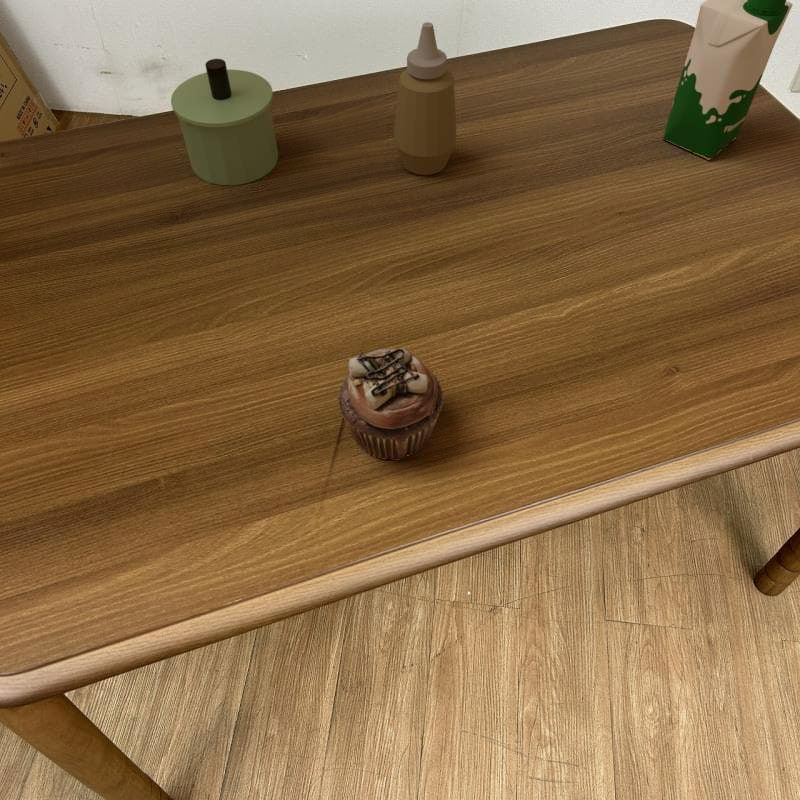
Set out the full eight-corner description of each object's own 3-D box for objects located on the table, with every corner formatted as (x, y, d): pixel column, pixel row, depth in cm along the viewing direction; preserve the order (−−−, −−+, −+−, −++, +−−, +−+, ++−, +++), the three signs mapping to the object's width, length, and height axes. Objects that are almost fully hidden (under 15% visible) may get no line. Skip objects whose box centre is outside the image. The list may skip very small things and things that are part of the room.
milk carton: (711, 167, 97) (771, 9, 81) (651, 140, 101) (697, -16, 85) (744, 139, 101) (808, -16, 85) (686, 114, 105) (736, -39, 89)
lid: (158, 127, 89) (146, 86, 85) (192, 74, 97) (183, 34, 93) (258, 136, 88) (250, 95, 84) (284, 82, 96) (279, 42, 91)
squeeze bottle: (384, 173, 97) (380, 34, 82) (407, 140, 101) (407, 3, 87) (442, 187, 95) (449, 47, 80) (463, 153, 99) (473, 15, 85)
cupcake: (461, 438, 71) (468, 370, 63) (375, 486, 67) (371, 420, 59) (406, 374, 76) (406, 303, 68) (323, 415, 72) (313, 346, 64)
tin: (179, 181, 96) (162, 121, 89) (207, 131, 103) (193, 72, 96) (264, 189, 95) (254, 129, 88) (287, 138, 102) (279, 79, 95)
